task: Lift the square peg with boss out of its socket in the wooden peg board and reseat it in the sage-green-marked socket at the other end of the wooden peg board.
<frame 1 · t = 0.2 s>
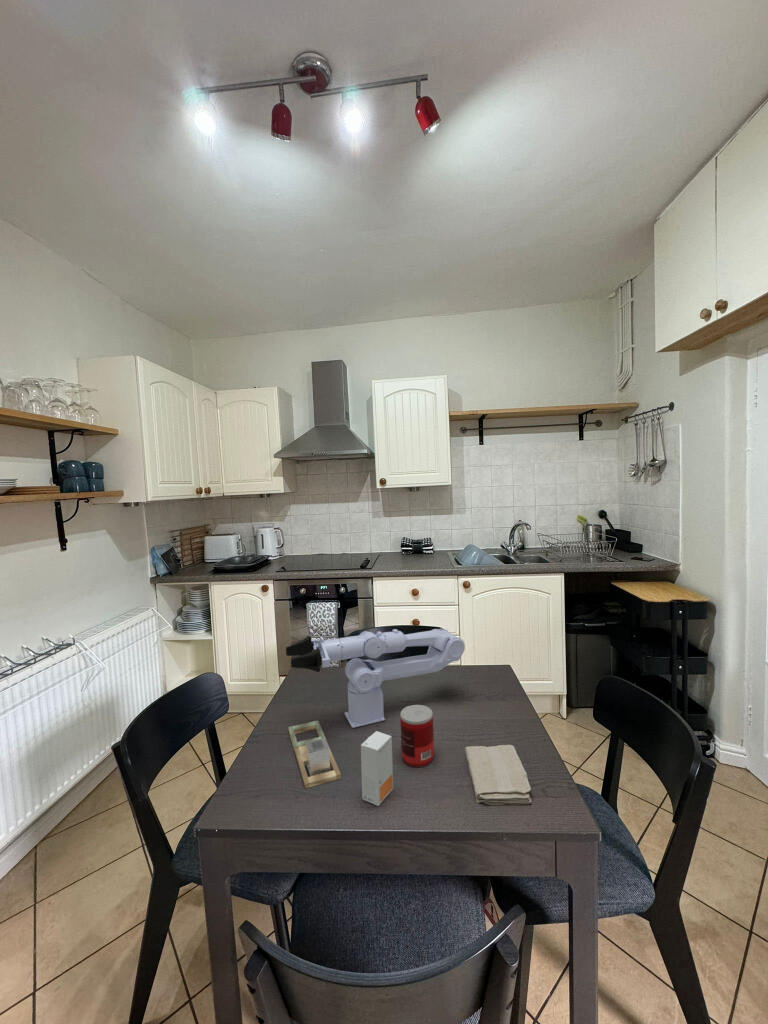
hand: (288, 657, 114), 21 cm above the table, tool horizontal, fingers open, 7 cm apart
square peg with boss: (318, 770, 101), resting in wooden peg board
canned food: (417, 757, 104), on the table
washcloth: (496, 778, 97), on the table
skincare box: (378, 795, 92), on the table
wooden peg board: (312, 752, 107), on the table
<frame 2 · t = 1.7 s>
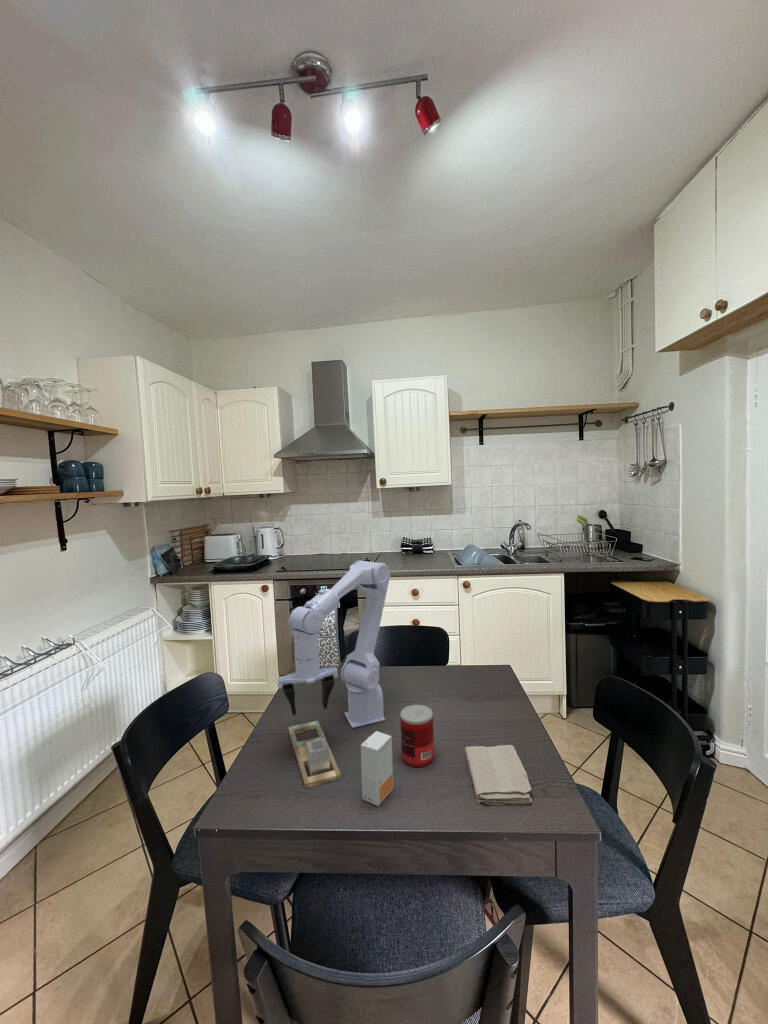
hand: (309, 709, 108), 10 cm above the table, tool pointing down, fingers open, 7 cm apart
nothing on the table moved.
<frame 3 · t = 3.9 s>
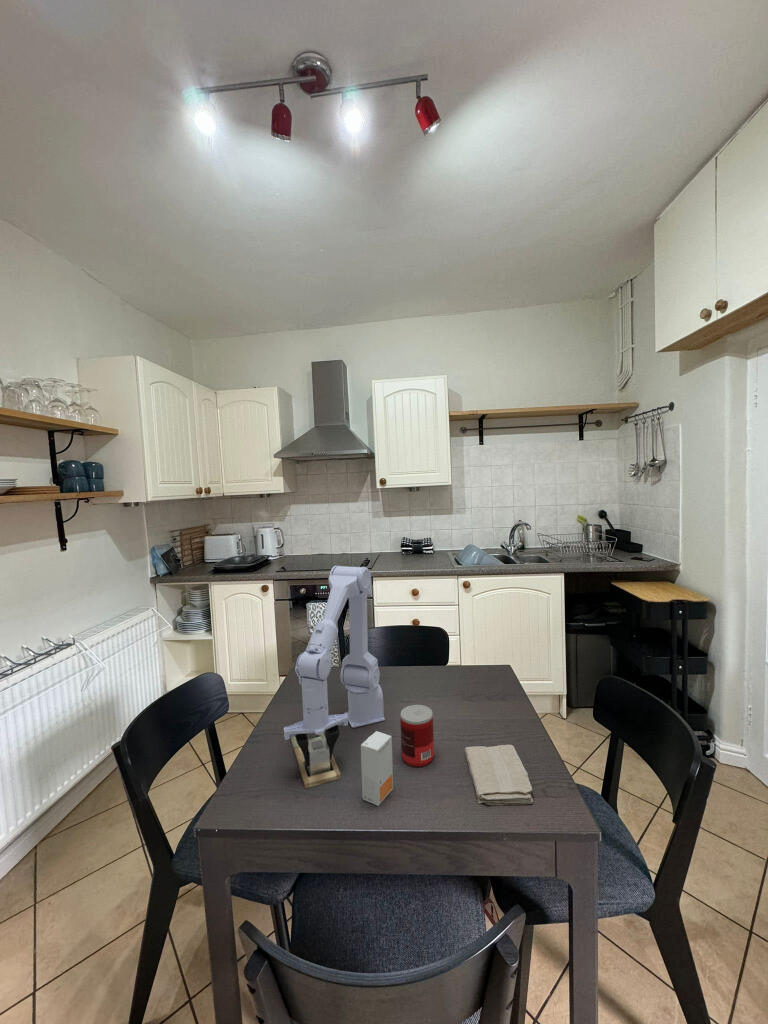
hand: (318, 760, 101), 2 cm above the table, tool pointing down, fingers closed on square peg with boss, 4 cm apart
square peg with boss: (318, 769, 101), resting in wooden peg board, touching gripper
everything else where it was.
when the fingers open (3 cm above the table, at t = 8.7 s): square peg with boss stays where it is, resting in wooden peg board.
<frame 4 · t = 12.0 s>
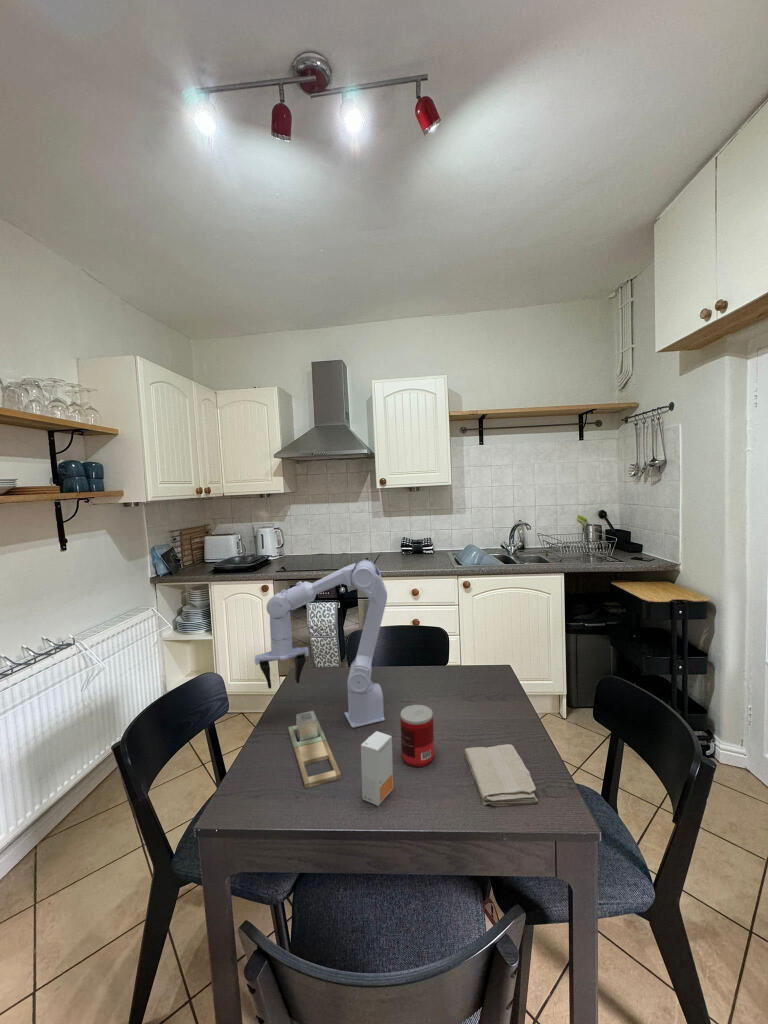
hand: (283, 684, 122), 10 cm above the table, tool pointing down, fingers open, 7 cm apart
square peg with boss: (307, 739, 113), resting in wooden peg board
everything else where it was.
at the end: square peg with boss 0.6 cm from the target spot, resting in wooden peg board; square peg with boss tilted 0° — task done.
